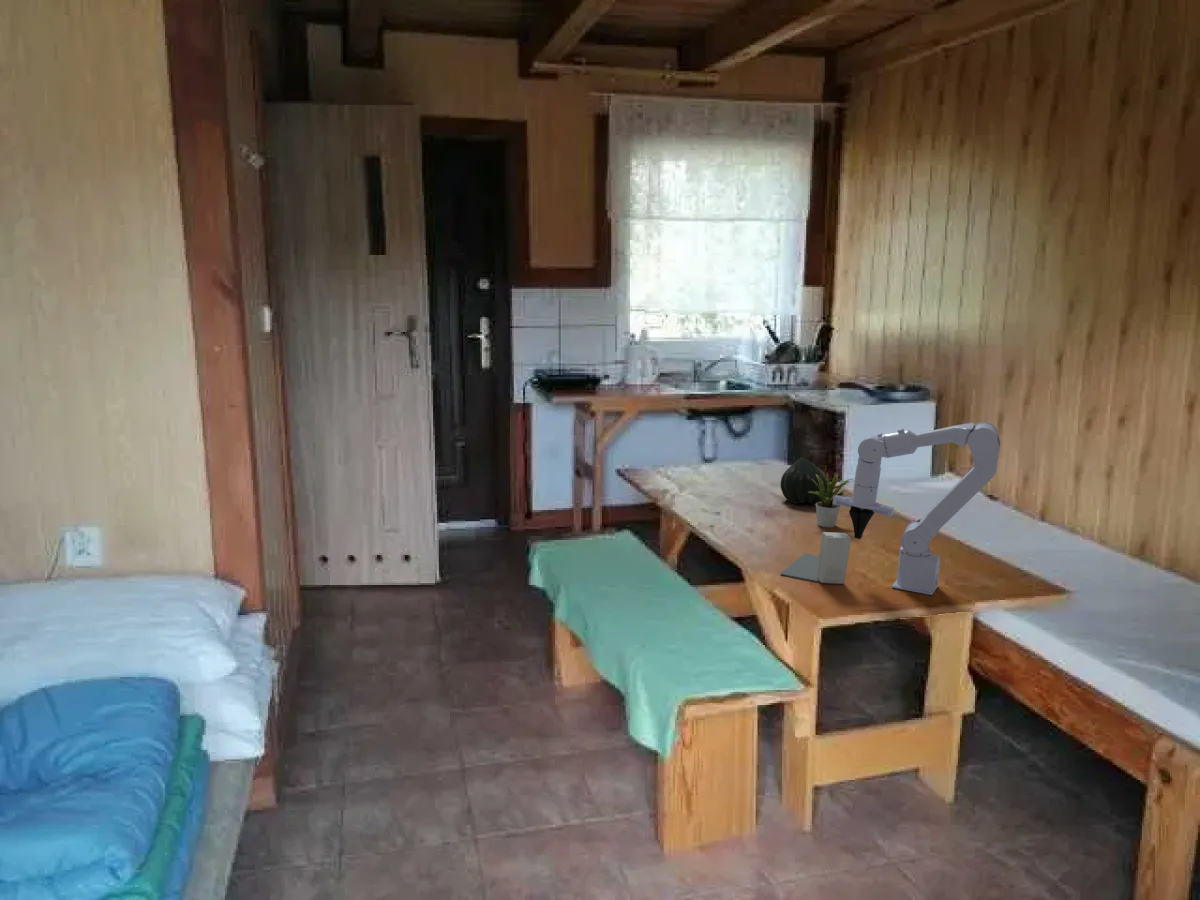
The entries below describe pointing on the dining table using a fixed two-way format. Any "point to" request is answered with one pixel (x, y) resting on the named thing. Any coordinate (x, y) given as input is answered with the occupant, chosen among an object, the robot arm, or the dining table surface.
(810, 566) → the mat
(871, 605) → the dining table surface
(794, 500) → the squash
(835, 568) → the skincare box
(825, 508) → the house plant
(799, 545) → the dining table surface
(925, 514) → the robot arm
